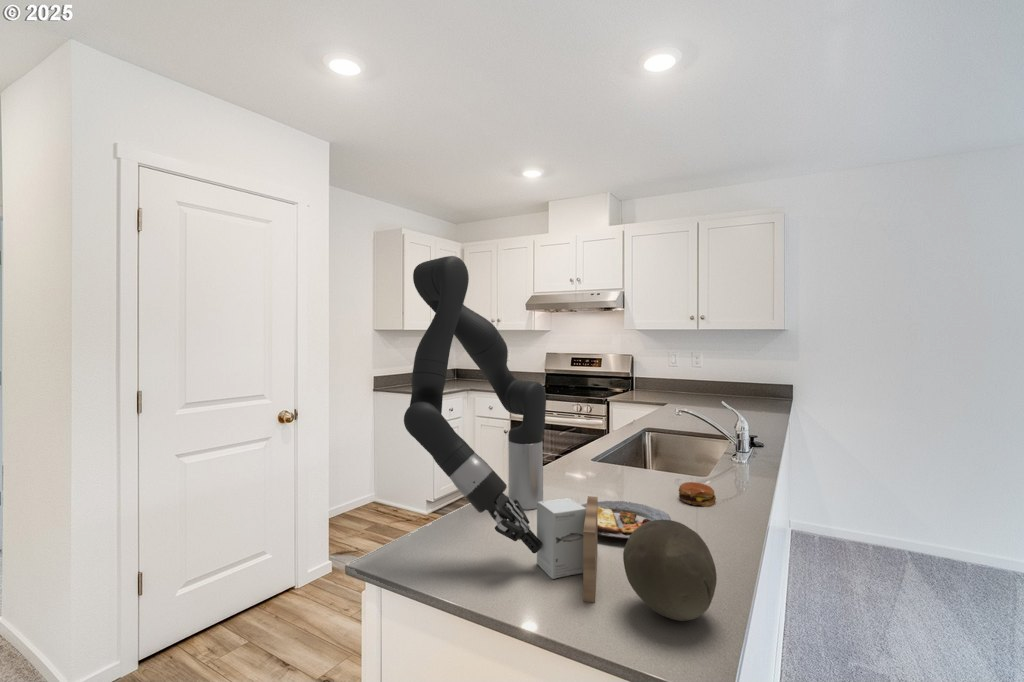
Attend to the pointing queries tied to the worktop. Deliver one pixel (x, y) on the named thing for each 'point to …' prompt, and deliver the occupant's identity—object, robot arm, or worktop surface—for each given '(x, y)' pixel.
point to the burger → (697, 494)
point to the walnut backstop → (590, 549)
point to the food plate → (624, 517)
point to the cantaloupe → (670, 569)
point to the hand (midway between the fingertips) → (538, 549)
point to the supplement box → (560, 537)
